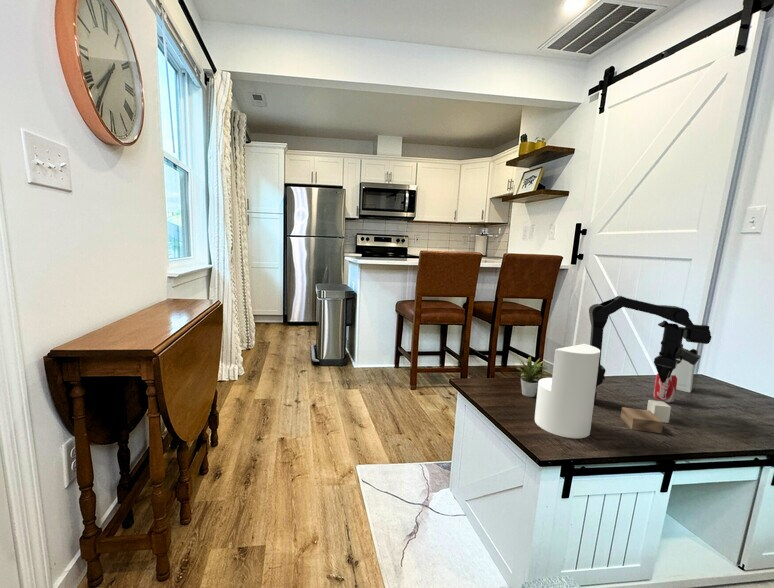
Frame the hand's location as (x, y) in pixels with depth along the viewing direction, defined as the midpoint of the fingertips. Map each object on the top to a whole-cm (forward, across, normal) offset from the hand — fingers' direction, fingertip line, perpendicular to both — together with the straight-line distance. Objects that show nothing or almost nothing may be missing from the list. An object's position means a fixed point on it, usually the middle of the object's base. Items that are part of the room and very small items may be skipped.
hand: (665, 380), depth 133 cm
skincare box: (+13, +40, -1) cm, 43 cm away
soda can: (+13, +17, +2) cm, 22 cm away
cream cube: (+13, -7, 0) cm, 15 cm away
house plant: (+14, -26, +40) cm, 50 cm away
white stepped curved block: (+14, -42, +21) cm, 49 cm away
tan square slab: (+13, -19, +3) cm, 23 cm away
